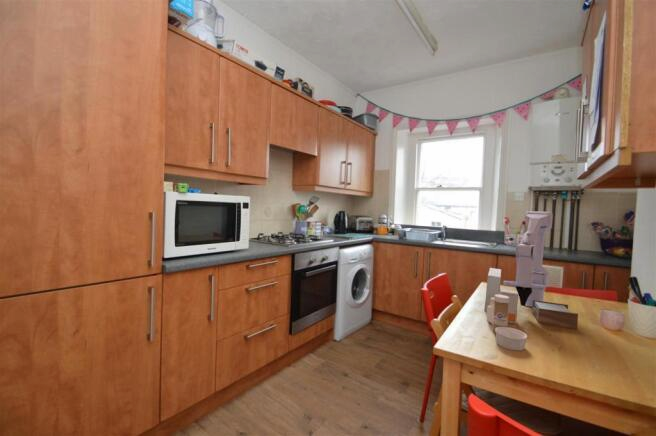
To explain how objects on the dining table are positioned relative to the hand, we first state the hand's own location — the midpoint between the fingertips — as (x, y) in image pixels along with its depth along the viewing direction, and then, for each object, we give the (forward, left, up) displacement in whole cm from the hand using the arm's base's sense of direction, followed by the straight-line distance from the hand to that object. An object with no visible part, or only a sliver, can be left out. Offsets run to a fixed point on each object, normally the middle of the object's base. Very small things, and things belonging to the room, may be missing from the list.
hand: (522, 305), depth 122 cm
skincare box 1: (-9, -10, -5) cm, 14 cm away
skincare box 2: (+9, -6, -5) cm, 13 cm away
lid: (0, +10, -1) cm, 10 cm away
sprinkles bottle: (+24, -10, -5) cm, 27 cm away
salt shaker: (+14, -11, -5) cm, 19 cm away
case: (0, +11, -5) cm, 11 cm away
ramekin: (+33, -8, -5) cm, 35 cm away
